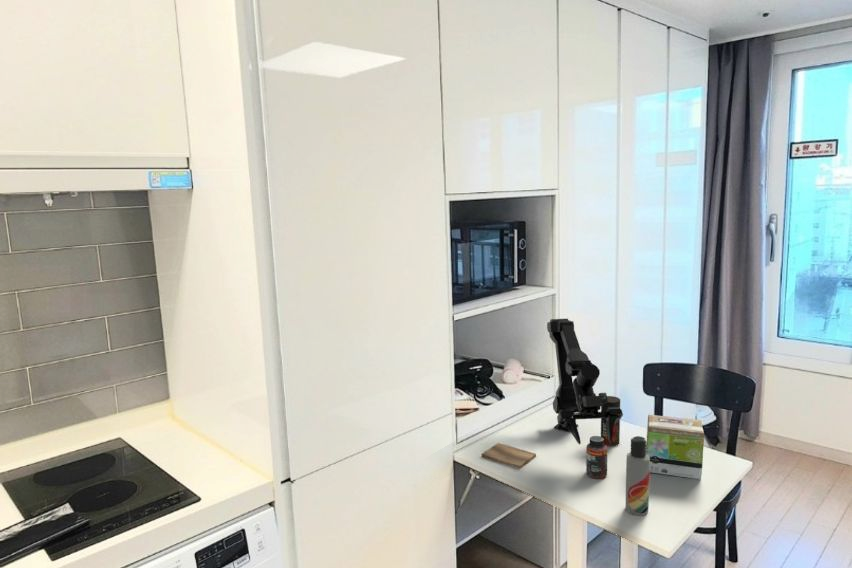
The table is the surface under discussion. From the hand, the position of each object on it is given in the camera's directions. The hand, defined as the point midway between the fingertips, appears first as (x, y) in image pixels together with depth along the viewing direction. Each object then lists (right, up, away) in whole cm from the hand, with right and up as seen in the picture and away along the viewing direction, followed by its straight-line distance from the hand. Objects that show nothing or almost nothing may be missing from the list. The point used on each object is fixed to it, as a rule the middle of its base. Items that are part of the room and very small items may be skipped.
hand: (595, 443), depth 171 cm
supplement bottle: (0, -9, 0) cm, 9 cm away
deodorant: (+11, -6, +21) cm, 24 cm away
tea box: (+24, -8, +2) cm, 25 cm away
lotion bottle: (+5, -12, -19) cm, 23 cm away
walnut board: (-24, -8, +13) cm, 28 cm away
